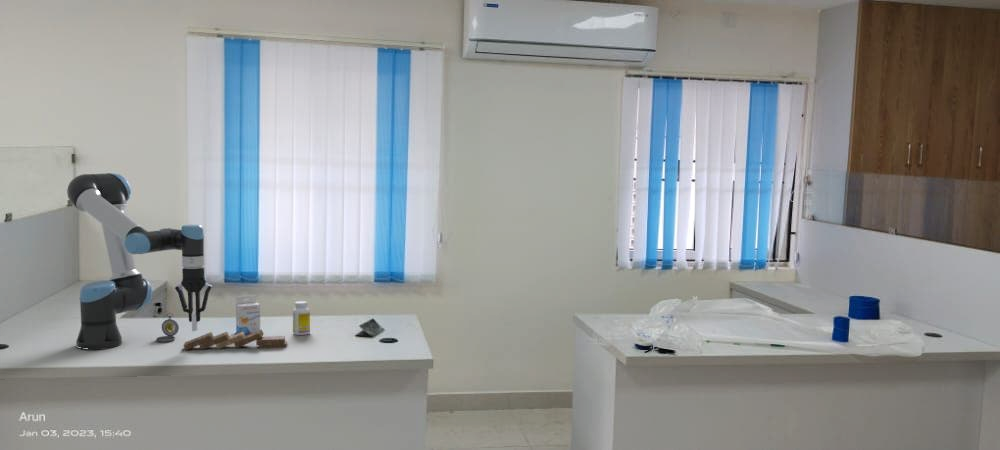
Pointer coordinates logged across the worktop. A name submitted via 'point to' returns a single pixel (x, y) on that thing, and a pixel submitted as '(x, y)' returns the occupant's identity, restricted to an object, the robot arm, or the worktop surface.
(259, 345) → the domino
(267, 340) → the domino
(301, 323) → the supplement bottle
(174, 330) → the pocket watch
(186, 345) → the domino
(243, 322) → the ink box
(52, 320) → the worktop surface
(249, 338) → the domino
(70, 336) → the worktop surface
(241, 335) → the tile
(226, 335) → the domino
